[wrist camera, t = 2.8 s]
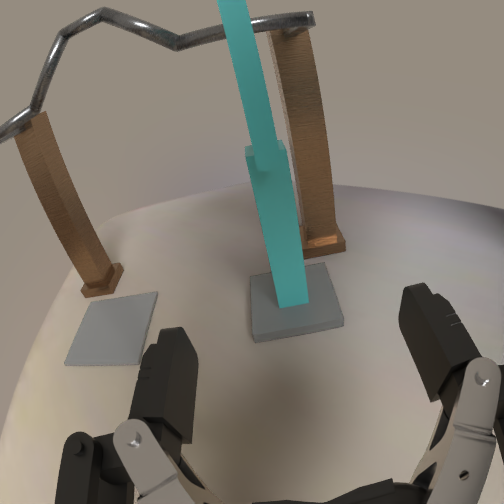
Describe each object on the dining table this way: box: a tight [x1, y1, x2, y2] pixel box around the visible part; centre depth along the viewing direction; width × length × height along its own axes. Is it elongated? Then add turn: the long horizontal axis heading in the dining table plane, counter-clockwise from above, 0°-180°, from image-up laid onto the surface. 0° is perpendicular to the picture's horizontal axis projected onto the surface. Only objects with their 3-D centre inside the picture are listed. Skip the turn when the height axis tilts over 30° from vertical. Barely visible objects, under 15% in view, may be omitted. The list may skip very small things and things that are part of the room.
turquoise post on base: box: [217, 0, 344, 343], centre depth 19 cm, size 8×7×24 cm
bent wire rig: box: [0, 7, 346, 298], centre depth 23 cm, size 30×11×26 cm, turn 92°
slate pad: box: [64, 292, 158, 366], centre depth 27 cm, size 9×9×1 cm
